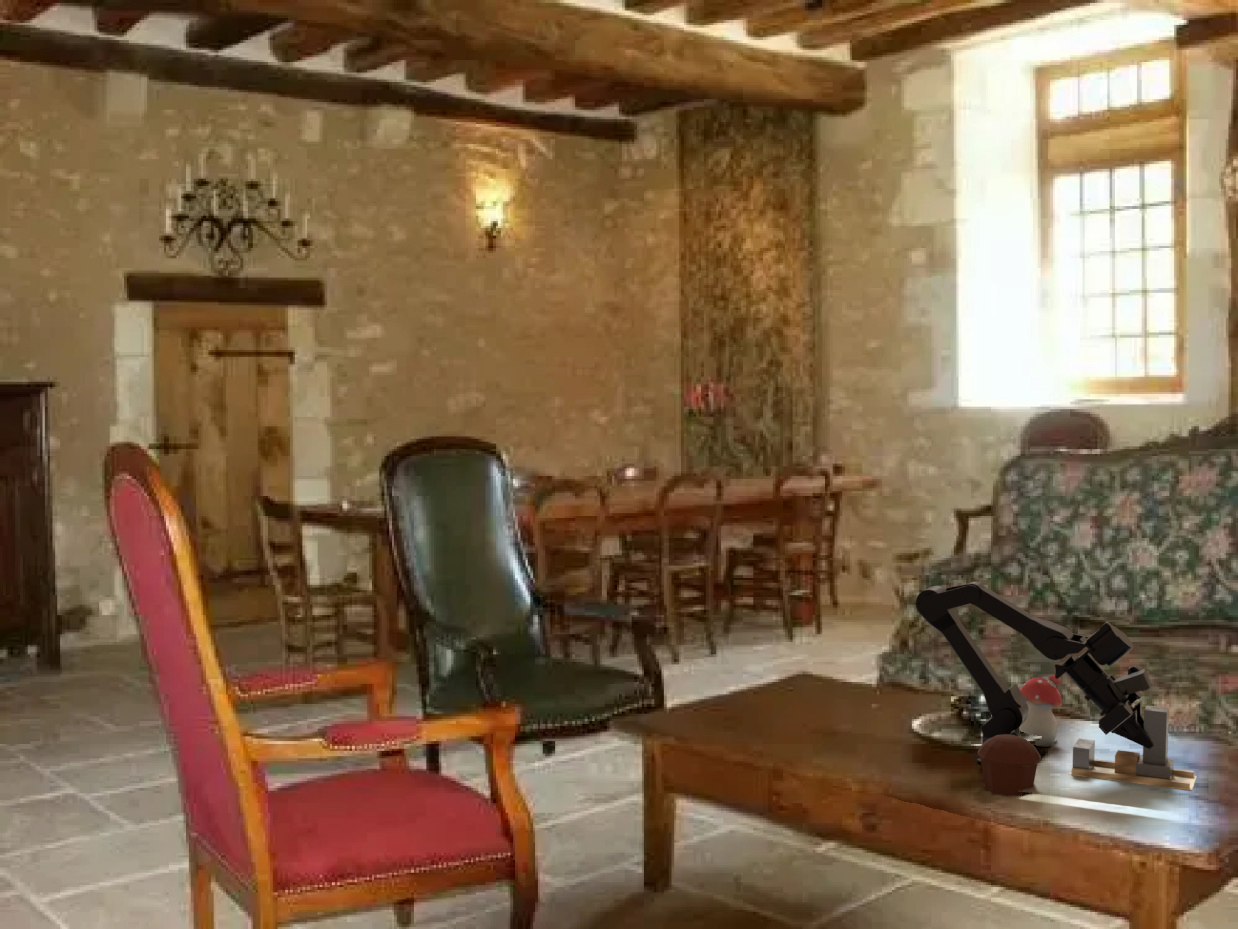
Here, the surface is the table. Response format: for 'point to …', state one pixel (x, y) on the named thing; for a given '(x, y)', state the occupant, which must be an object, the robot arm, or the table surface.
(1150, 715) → the block
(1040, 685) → the decorative ornament
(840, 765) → the table surface
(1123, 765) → the walnut block
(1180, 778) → the wooden tray
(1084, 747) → the block
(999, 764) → the muffin
